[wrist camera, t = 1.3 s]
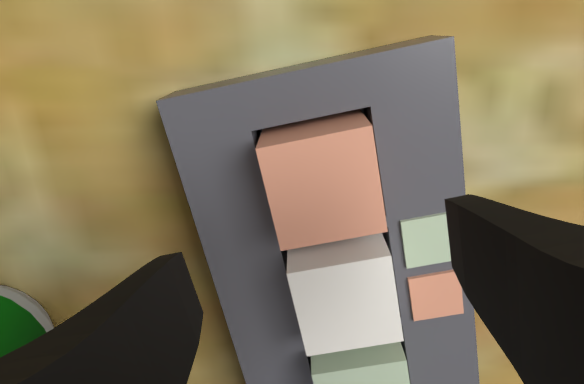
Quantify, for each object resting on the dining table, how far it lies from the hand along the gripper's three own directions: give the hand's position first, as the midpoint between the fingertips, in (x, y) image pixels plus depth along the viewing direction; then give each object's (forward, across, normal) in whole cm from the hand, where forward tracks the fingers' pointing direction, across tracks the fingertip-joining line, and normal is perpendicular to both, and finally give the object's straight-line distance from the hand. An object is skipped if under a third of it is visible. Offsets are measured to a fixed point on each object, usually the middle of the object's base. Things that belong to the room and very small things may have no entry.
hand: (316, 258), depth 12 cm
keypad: (+10, 0, +6) cm, 12 cm away
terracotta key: (+9, 0, 0) cm, 9 cm away
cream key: (+9, 0, +6) cm, 11 cm away
